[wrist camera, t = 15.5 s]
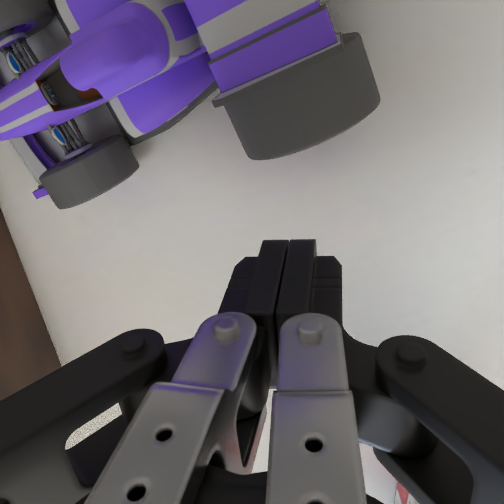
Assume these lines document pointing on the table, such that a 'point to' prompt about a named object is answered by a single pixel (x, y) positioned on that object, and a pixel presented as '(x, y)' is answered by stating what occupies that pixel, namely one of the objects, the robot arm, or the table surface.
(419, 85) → the table surface
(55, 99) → the toy race car
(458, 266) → the table surface
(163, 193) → the table surface
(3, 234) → the walnut beam
